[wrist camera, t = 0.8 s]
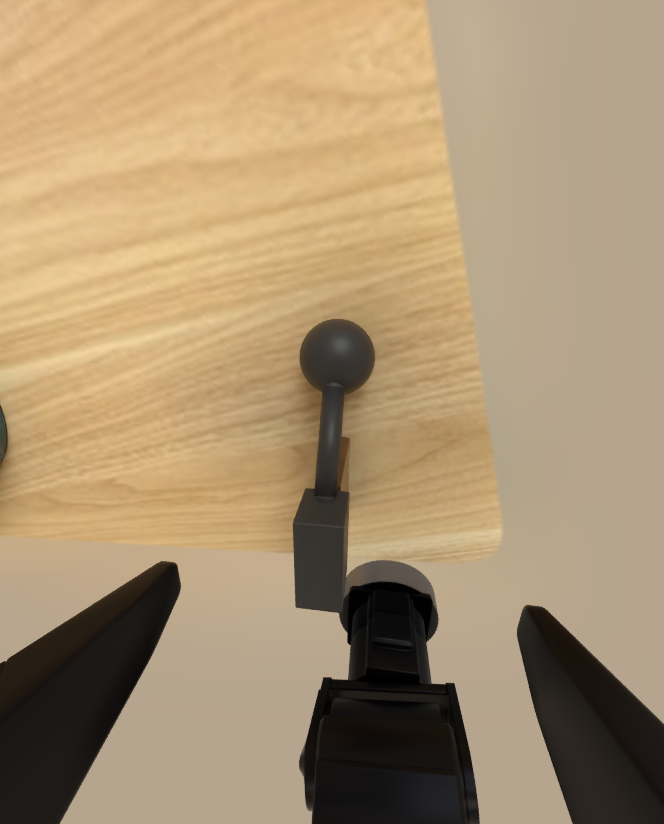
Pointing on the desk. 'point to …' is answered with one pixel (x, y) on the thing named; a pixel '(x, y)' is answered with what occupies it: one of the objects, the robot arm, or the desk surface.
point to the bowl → (2, 436)
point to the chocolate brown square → (344, 465)
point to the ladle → (328, 464)
